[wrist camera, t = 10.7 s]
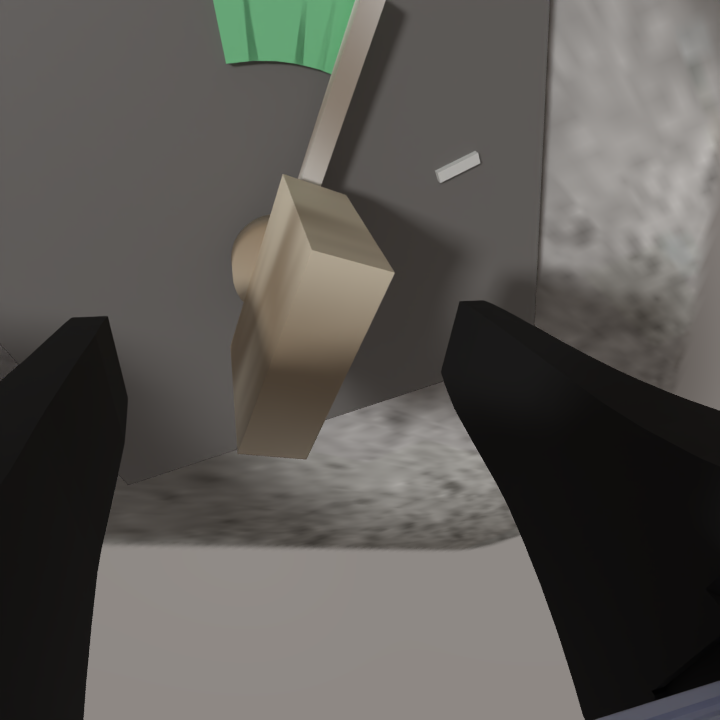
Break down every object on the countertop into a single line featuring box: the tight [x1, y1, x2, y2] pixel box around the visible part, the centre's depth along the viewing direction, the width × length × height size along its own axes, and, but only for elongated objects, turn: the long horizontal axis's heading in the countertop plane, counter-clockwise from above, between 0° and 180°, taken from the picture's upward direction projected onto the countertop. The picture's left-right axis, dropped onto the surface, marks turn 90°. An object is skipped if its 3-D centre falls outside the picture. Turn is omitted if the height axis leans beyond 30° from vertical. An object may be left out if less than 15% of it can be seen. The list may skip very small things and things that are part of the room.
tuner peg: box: [230, 0, 395, 459], centre depth 11 cm, size 9×3×5 cm, turn 157°
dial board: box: [0, 0, 550, 485], centre depth 14 cm, size 16×14×1 cm
